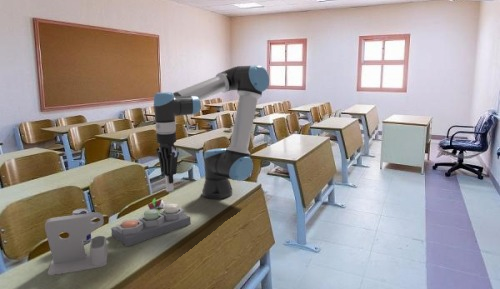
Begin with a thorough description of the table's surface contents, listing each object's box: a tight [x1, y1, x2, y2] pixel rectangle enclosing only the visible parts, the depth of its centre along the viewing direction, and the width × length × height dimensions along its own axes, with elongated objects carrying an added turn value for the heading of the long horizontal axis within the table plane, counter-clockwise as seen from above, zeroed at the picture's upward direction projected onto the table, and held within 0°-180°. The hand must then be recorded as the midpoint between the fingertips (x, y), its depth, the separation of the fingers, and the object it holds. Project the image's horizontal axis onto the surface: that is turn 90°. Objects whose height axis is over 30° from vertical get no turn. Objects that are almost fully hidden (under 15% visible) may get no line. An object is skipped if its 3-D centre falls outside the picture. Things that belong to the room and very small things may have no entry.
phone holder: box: [44, 211, 109, 276], centre depth 115 cm, size 17×10×18 cm, turn 109°
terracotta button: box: [122, 219, 138, 228], centre depth 134 cm, size 6×6×2 cm
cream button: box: [163, 203, 180, 214], centre depth 146 cm, size 6×6×2 cm
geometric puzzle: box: [147, 197, 166, 213], centre depth 157 cm, size 7×7×8 cm
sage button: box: [143, 209, 159, 221], centre depth 140 cm, size 6×6×2 cm
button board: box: [110, 206, 192, 247], centre depth 141 cm, size 27×13×5 cm, turn 134°
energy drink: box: [71, 207, 92, 245], centre depth 131 cm, size 5×5×12 cm
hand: (169, 190), depth 144 cm, fingers closed
